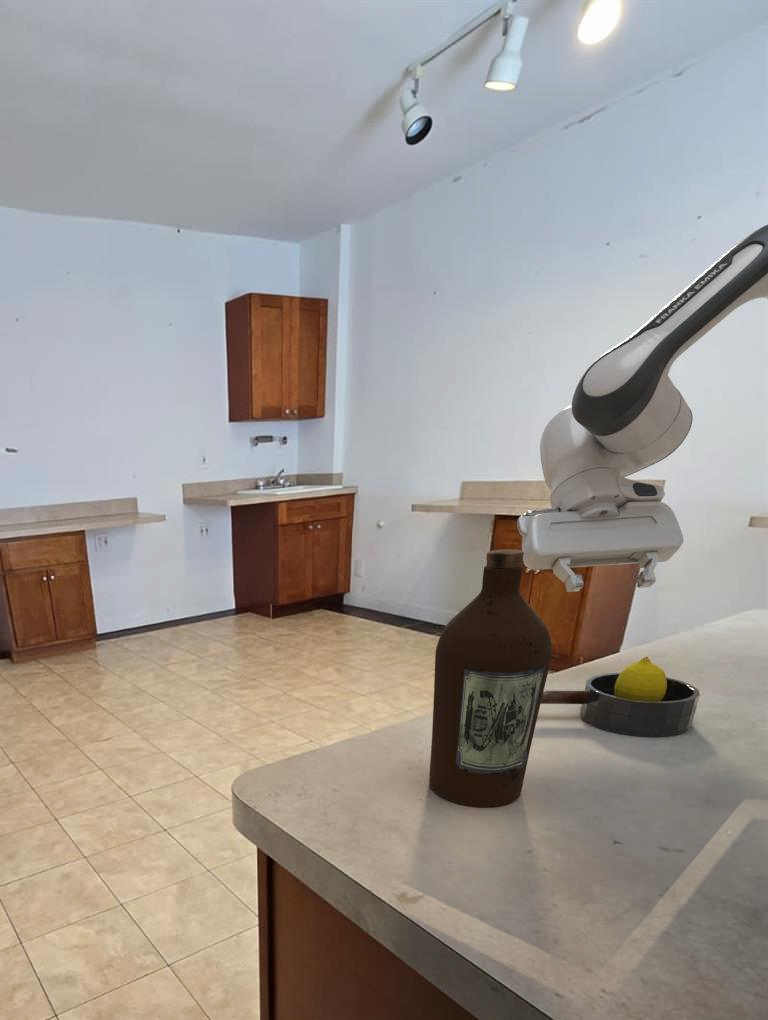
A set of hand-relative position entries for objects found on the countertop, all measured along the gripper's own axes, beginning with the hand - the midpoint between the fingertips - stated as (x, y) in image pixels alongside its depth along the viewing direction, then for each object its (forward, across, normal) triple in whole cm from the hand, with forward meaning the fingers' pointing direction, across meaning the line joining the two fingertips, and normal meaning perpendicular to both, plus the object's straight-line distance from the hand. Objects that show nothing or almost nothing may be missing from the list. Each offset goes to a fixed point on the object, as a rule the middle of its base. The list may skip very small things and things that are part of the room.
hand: (611, 587), depth 88 cm
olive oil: (+31, -26, -9) cm, 42 cm away
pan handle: (+16, -11, +3) cm, 19 cm away
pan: (+19, 0, +3) cm, 19 cm away
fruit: (+18, 0, +3) cm, 19 cm away
